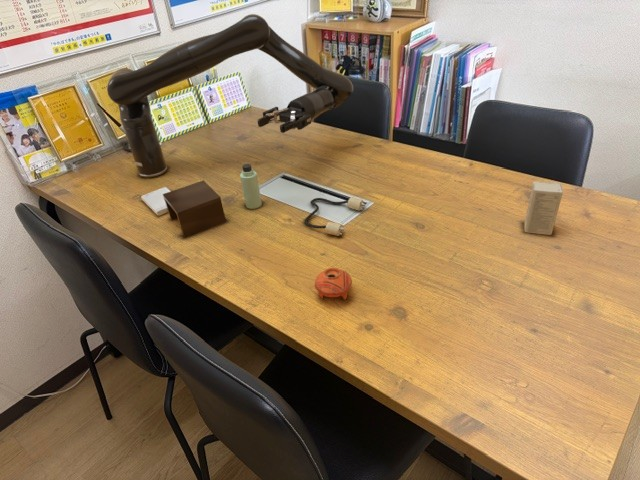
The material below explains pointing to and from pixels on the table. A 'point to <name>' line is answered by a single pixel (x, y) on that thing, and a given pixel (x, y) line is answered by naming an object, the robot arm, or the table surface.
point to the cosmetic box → (543, 207)
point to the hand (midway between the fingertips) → (269, 126)
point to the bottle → (250, 187)
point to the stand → (195, 207)
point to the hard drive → (156, 200)
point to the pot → (333, 283)
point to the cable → (331, 226)
